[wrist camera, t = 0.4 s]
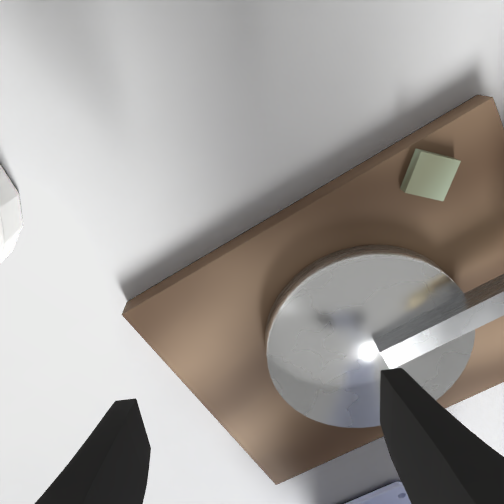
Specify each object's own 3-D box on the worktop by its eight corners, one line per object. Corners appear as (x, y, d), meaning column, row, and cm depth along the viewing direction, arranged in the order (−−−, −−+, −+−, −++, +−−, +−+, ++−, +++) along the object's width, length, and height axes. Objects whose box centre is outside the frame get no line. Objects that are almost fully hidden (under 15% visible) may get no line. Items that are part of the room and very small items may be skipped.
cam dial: (321, 433, 25) (344, 527, 20) (226, 310, 21) (225, 389, 16) (574, 315, 22) (672, 390, 17) (518, 148, 18) (623, 184, 13)
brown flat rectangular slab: (564, 334, 24) (587, 354, 23) (274, 467, 28) (276, 493, 26) (477, 94, 19) (501, 98, 17) (127, 301, 22) (118, 321, 20)
